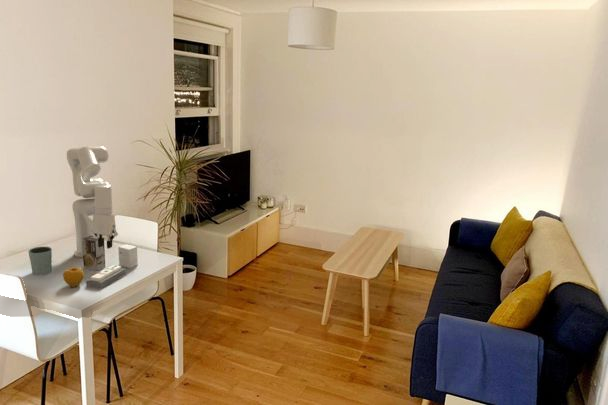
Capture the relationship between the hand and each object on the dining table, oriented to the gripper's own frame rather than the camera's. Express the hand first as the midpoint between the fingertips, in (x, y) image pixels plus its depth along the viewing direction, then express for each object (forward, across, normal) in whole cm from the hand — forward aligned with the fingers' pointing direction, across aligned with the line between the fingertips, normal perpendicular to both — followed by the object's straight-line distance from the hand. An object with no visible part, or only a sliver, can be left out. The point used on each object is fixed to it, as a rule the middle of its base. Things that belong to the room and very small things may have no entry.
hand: (105, 246), depth 222 cm
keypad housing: (+17, 0, 0) cm, 17 cm away
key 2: (+16, 0, +6) cm, 17 cm away
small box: (+18, -2, +20) cm, 27 cm away
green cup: (+18, -35, -4) cm, 39 cm away
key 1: (+16, 0, -6) cm, 17 cm away
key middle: (+16, 0, 0) cm, 16 cm away
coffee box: (+18, -16, +12) cm, 26 cm away
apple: (+18, -10, -11) cm, 23 cm away
